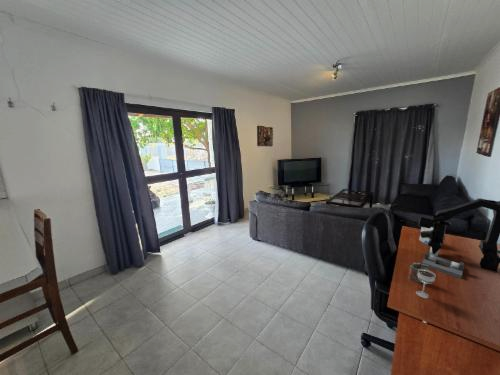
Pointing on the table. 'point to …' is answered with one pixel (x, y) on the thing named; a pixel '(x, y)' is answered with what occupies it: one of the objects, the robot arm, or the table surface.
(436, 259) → the shaft mount
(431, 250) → the coupler
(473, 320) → the table surface
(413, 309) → the table surface
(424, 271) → the wineglass
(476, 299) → the table surface
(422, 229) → the ink box
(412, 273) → the grey box
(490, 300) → the table surface
